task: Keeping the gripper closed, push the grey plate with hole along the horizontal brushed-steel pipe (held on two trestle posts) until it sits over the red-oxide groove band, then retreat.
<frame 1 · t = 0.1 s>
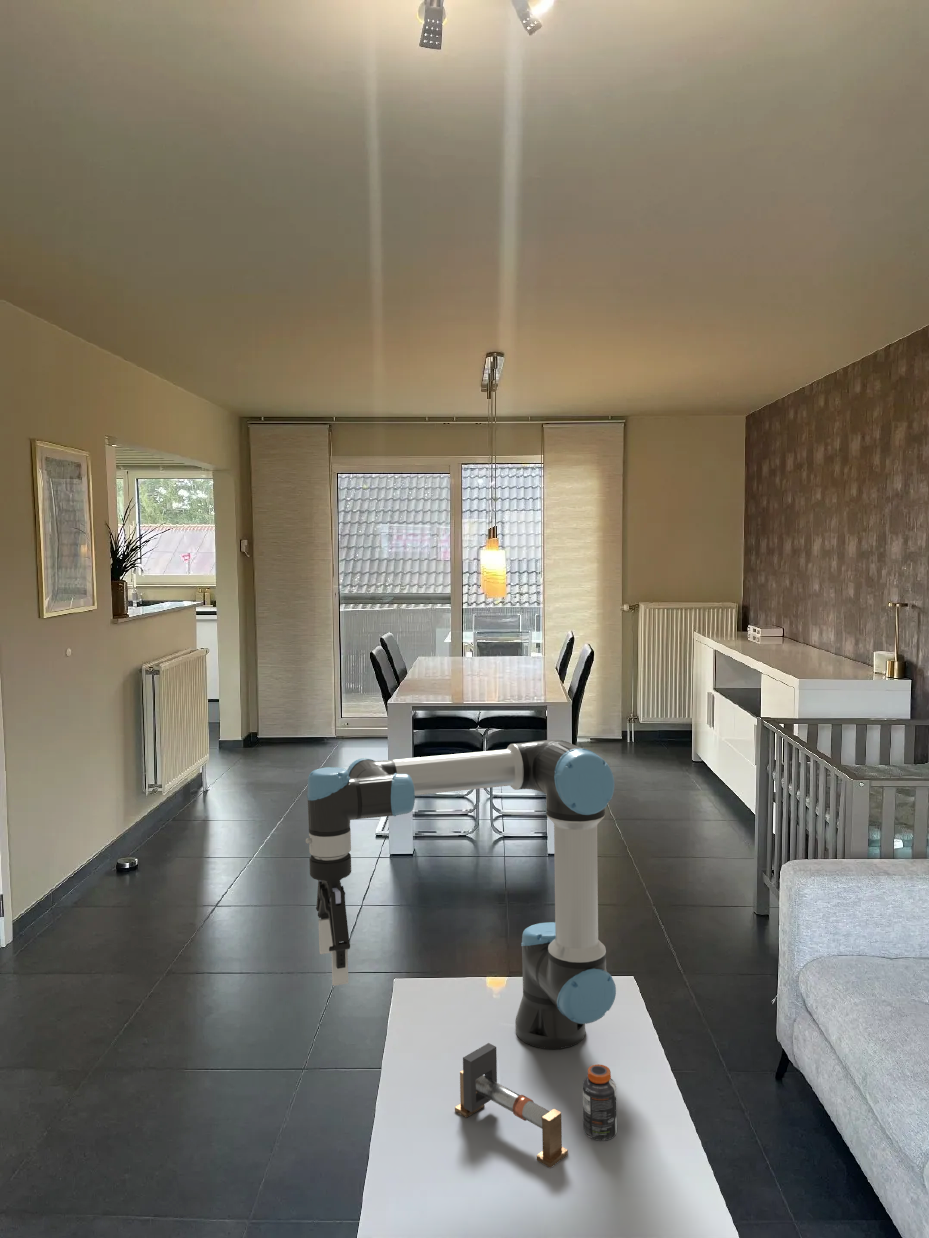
hand: (333, 967, 161), 28 cm above the table, fingers open, 13 cm apart
pipe rig: (509, 1131, 157), on the table
pill bottle: (600, 1132, 157), on the table
grey plate with hole: (480, 1076, 162), point 7 cm above the table, slide at 0.0 cm
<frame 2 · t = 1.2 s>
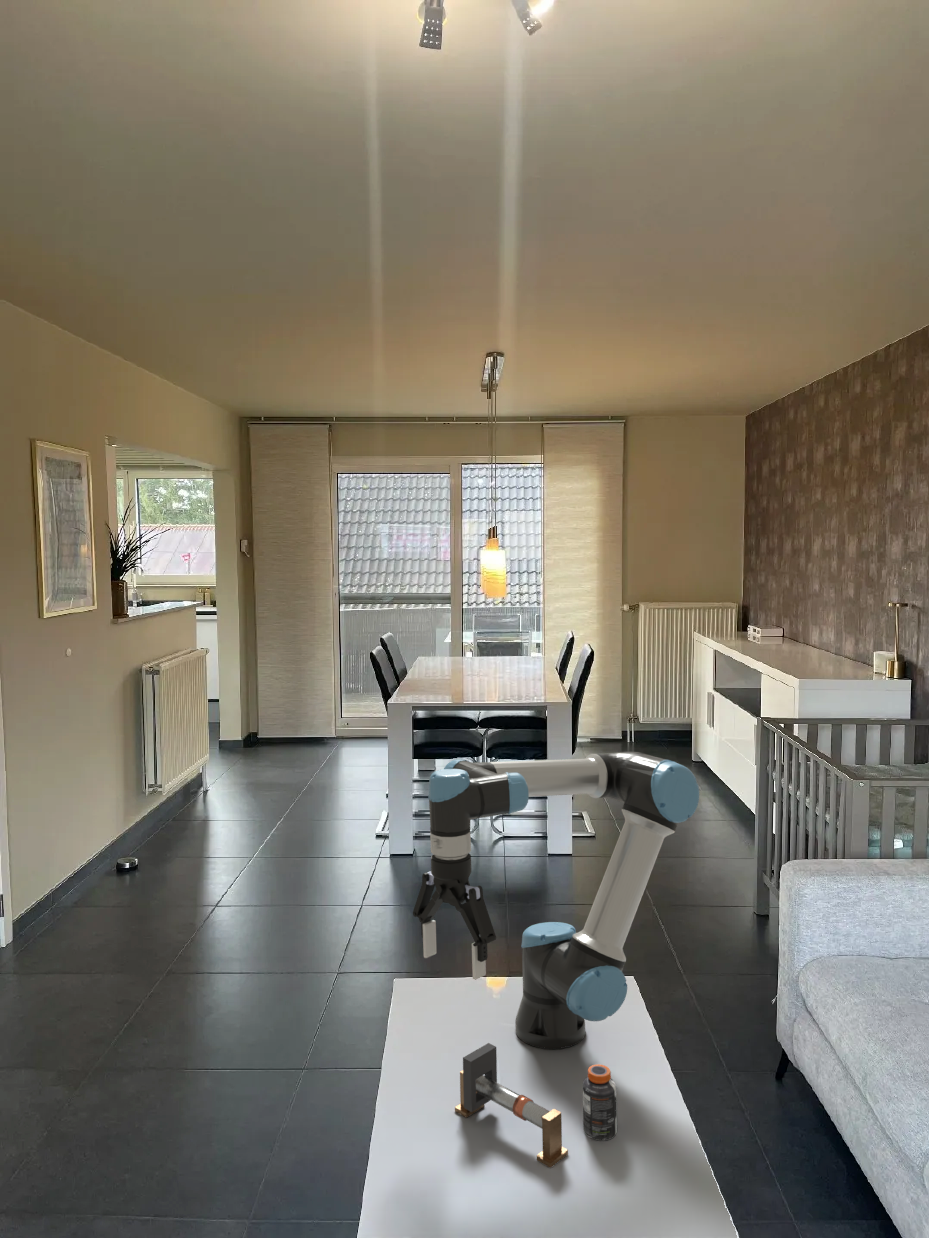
hand: (454, 965, 165), 26 cm above the table, fingers open, 12 cm apart
nothing on the table moved.
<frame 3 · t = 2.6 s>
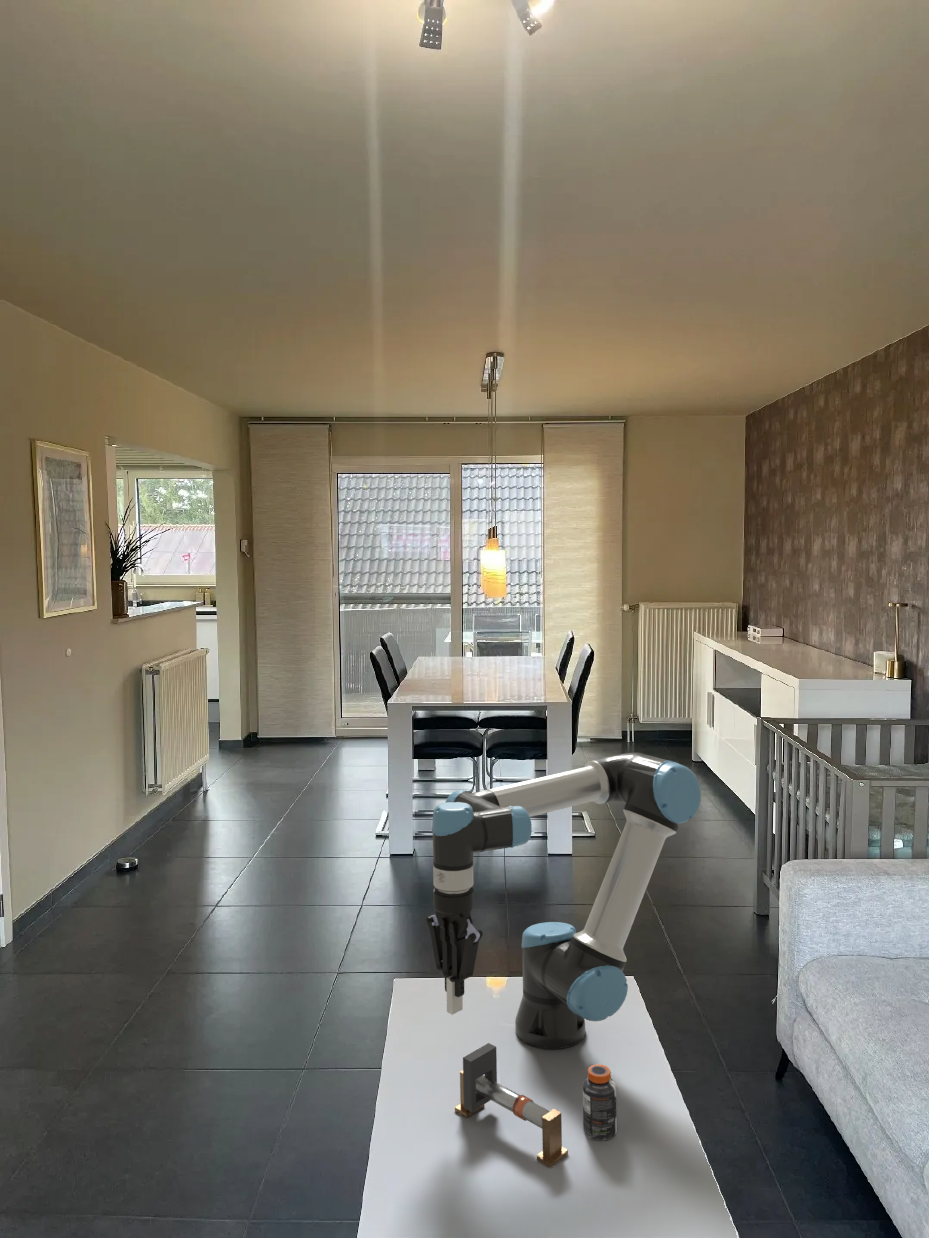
hand: (454, 1010, 165), 18 cm above the table, fingers closed
nothing on the table moved.
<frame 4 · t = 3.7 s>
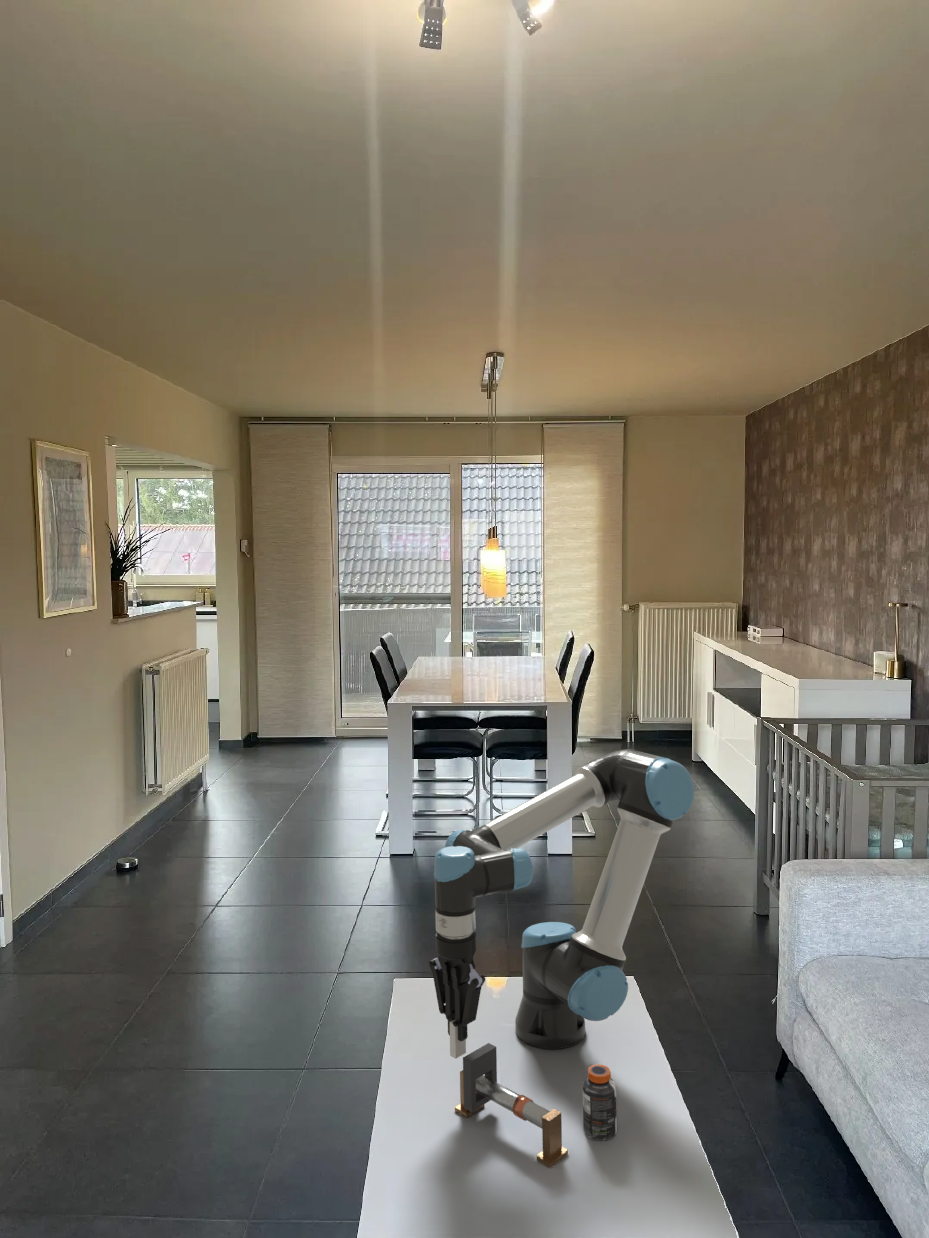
hand: (458, 1054, 166), 9 cm above the table, fingers closed
nothing on the table moved.
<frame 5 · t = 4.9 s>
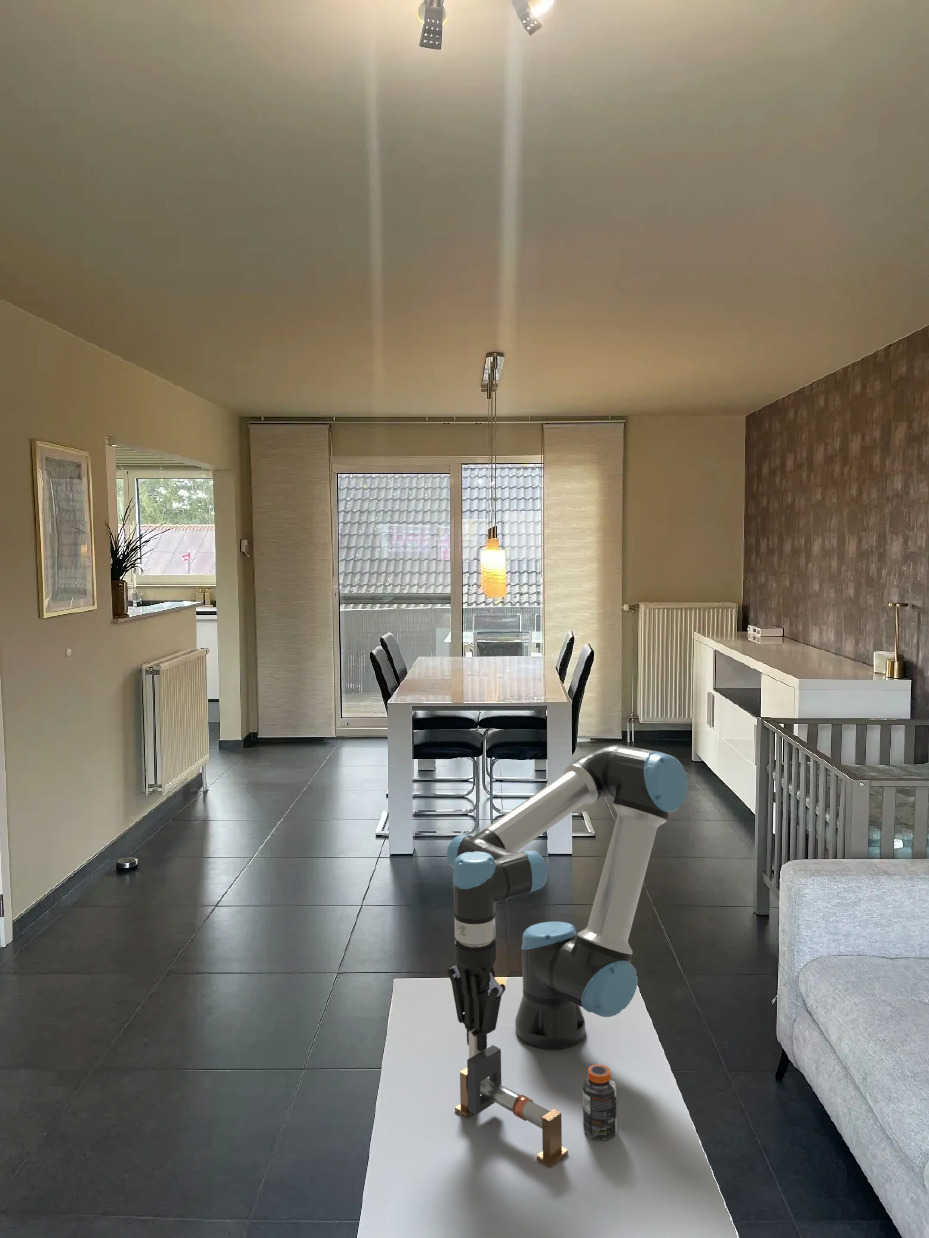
hand: (477, 1064, 162), 9 cm above the table, fingers closed
grey plate with hole: (484, 1079, 161), point 7 cm above the table, slide at 1.1 cm, touching gripper
everything else where it was.
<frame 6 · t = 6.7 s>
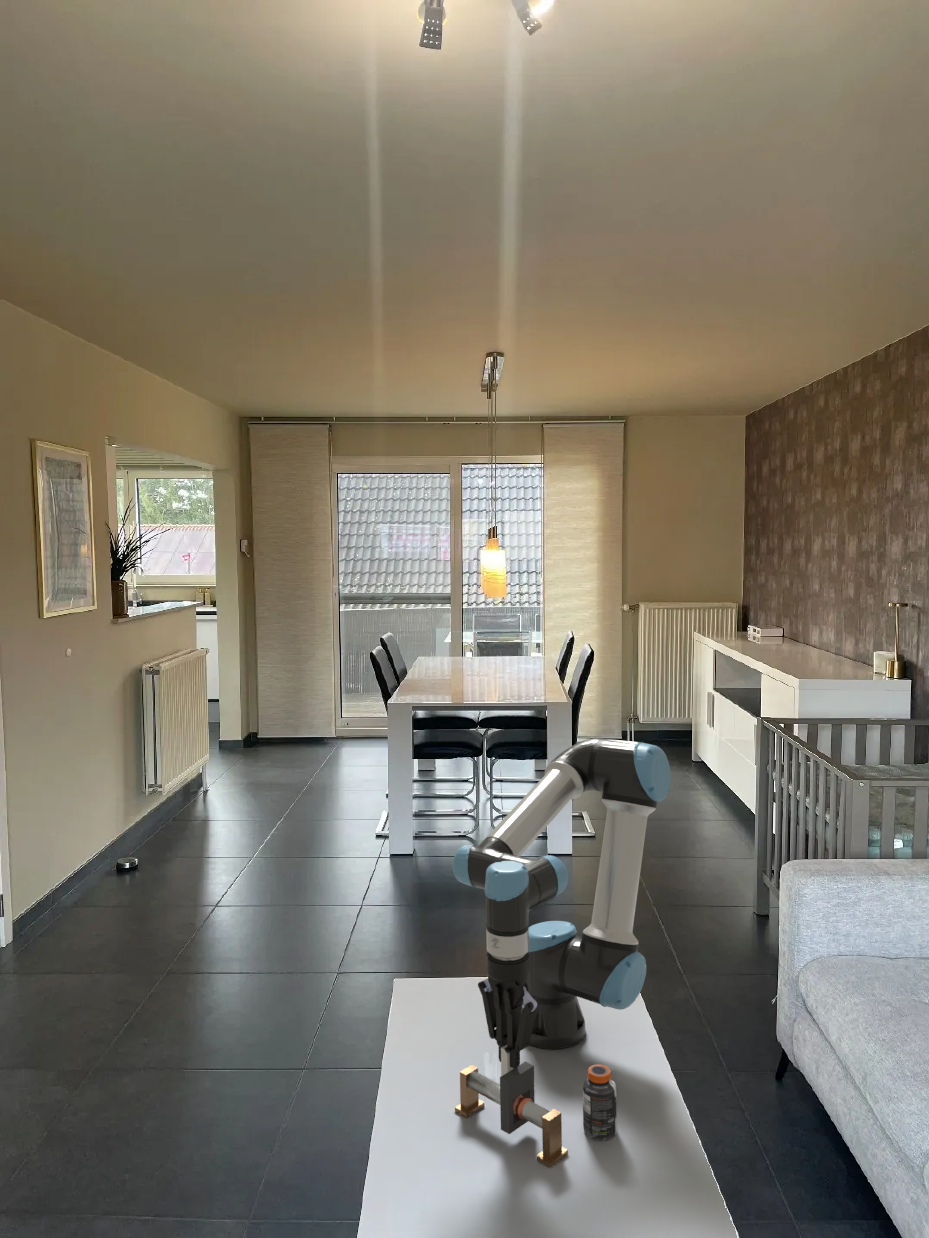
hand: (509, 1081, 156), 9 cm above the table, fingers closed
grey plate with hole: (517, 1097, 155), point 7 cm above the table, slide at 9.1 cm, touching gripper
everything else where it was.
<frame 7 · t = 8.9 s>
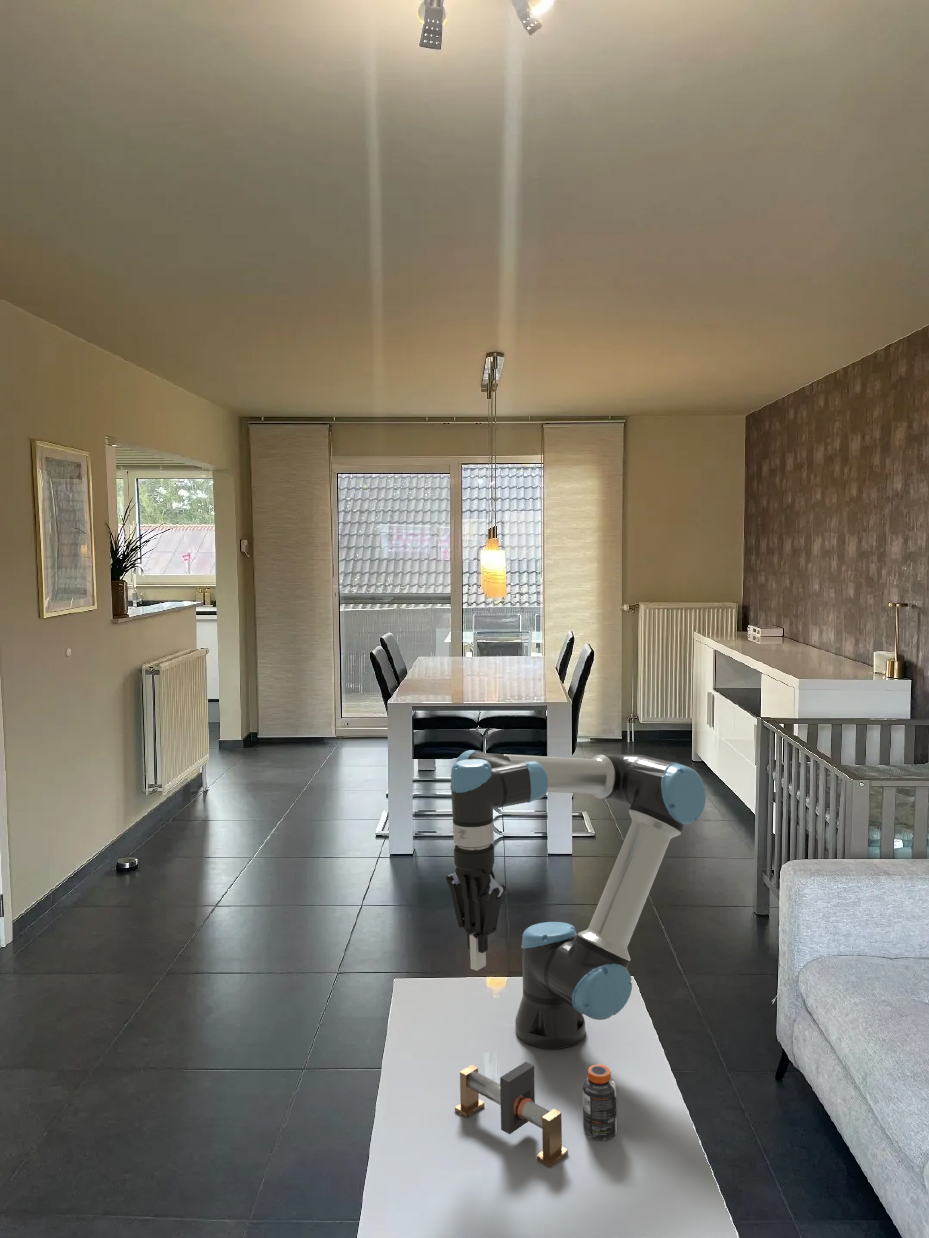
hand: (478, 966, 165), 26 cm above the table, fingers closed
grey plate with hole: (517, 1097, 155), point 7 cm above the table, slide at 9.2 cm
everything else where it was.
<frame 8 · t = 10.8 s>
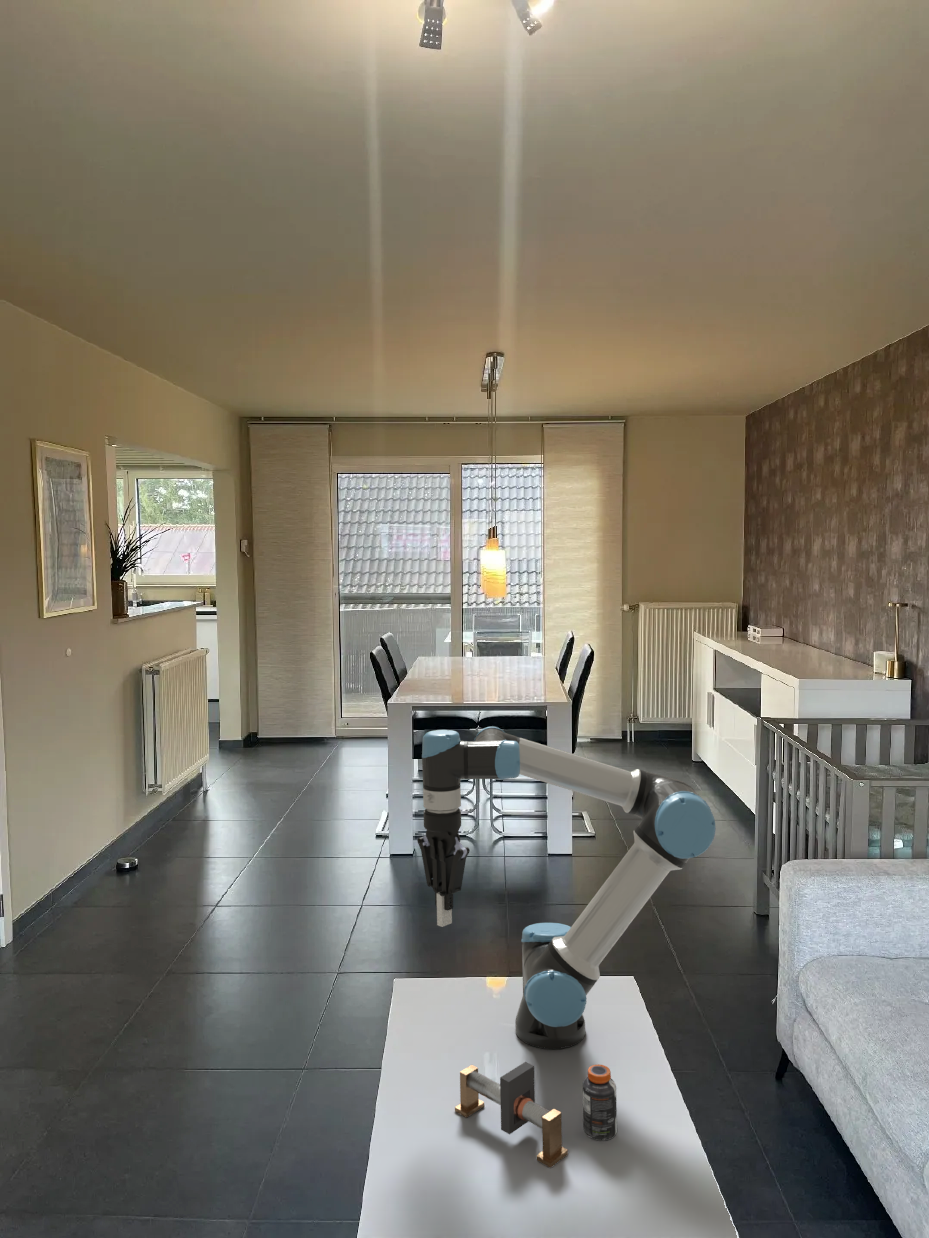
hand: (444, 923, 177), 29 cm above the table, fingers closed
nothing on the table moved.
at the end: grey plate with hole slide at 9.2 cm; grey plate with hole touching nothing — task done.
